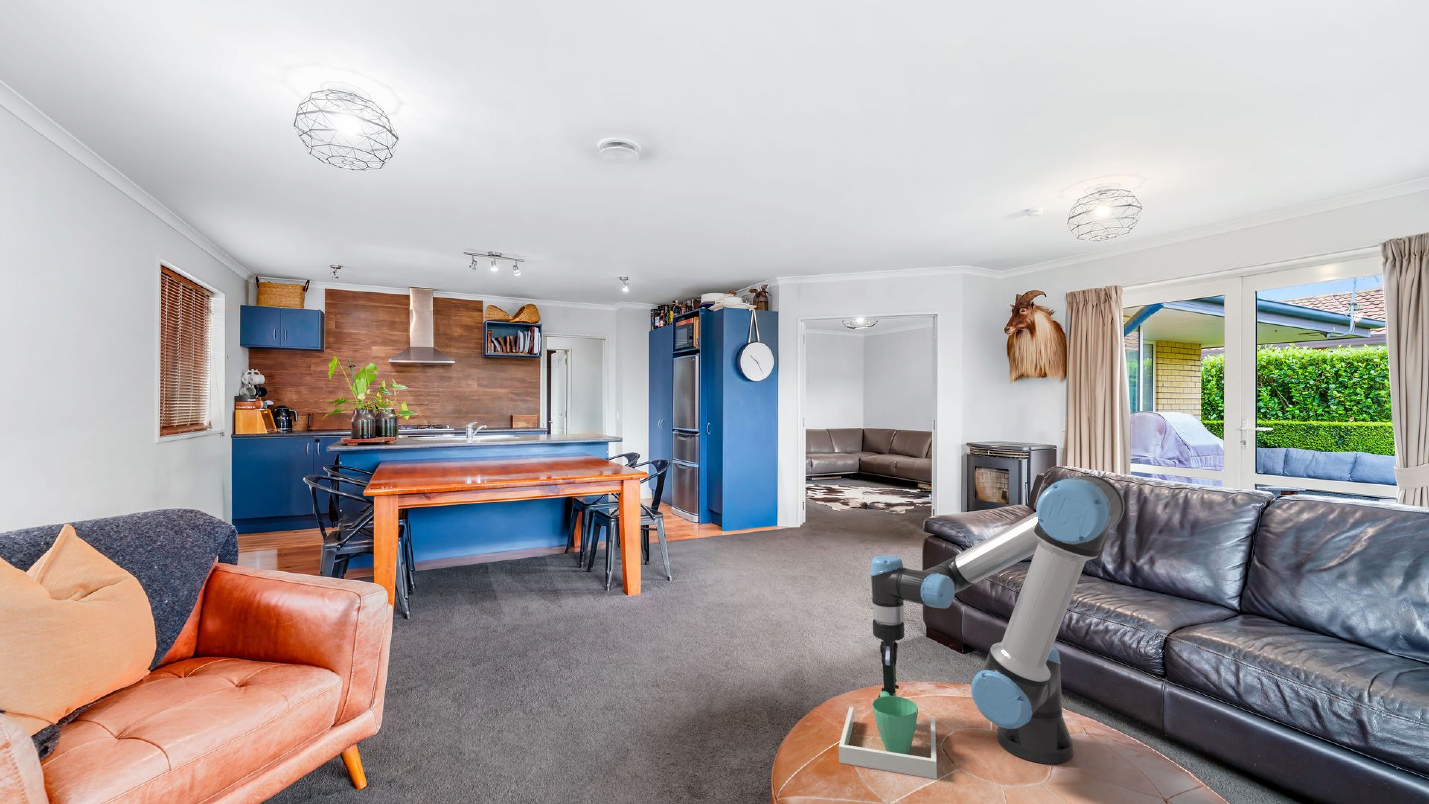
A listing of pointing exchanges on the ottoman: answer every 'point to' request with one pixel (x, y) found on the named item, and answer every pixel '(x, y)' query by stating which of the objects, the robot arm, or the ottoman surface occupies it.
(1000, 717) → the robot arm
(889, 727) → the mug
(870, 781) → the ottoman surface
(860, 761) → the corral
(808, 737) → the ottoman surface
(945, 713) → the ottoman surface
